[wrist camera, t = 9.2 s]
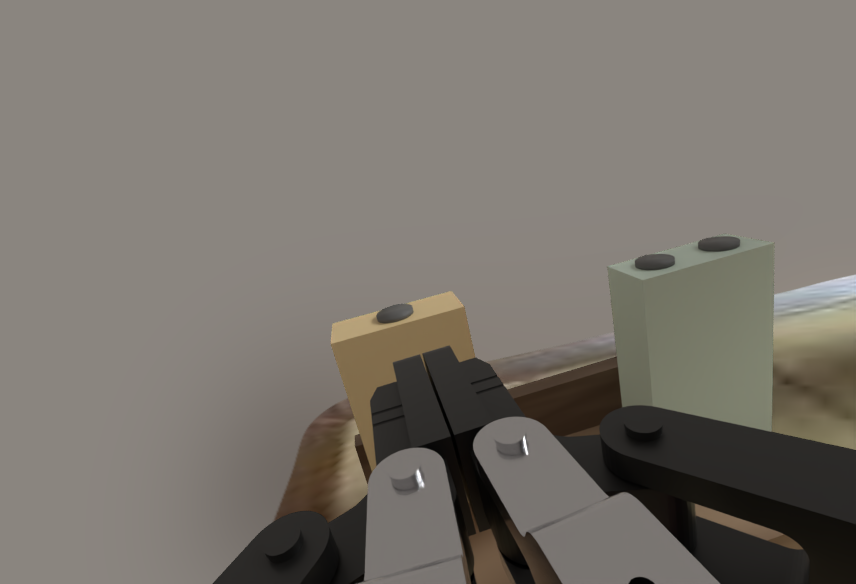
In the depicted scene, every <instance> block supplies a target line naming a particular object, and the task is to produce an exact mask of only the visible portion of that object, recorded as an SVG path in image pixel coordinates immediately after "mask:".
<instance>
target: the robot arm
mask: <svg viewBox="0 0 856 584" xmlns="http://www.w3.org/2000/svg"><path fill="white" fill-rule="evenodd" d="M422 355H423V360H424V363H425V366H424V363H423V361H422V358H421V355H420V354H419V355H415V356H412V357H409V358H405V359H402V360H399V361H395V362H393V367H394V371H395V376H396V380H397V381H396V382H393V383H390V384H386V385H383V386H380V387H377V388H376V390H375V392H374V394H373V396H372V398H371V400H370V407H371V415H372V416H371V417H372V426H373V438H374V448H375V458H376V468H375V469H374V470H373V472H372V474H371V475H370V478H369V482H368V494H367V495H366V496H365V497H364V498H363V499H362V500H361V501H360V502H359V503H358V504H357V505H356V506H355V507H353V508H352V509H350V510H349V511H347V512H346V513H344V514H342V515H341V516H339V517H337V518H336V519H334V520H332V521H331V522H329V523H327V520H326V519H325V518H324V517H323V516H322V515H321V514H319V513H316V512H312V511H300V512H295V513H291V514H288V515H286V516H283V517H281V518H279V519H277V520H276V521H274V522H273V523H271V524H270V525H268V526H267V527H266V528H264V530H262V531H261V532H260V533H259V534H258V535H257V536H256V537H255V538H254V539H253V540H252V541H251V542H250V544H249V545H248V546H247V547H246V548H245V549H244V550H243V551H242V552H241V553H240V554H239V556H238V557H237V558H236V559H235V560H234V561H233V562H232V563H231V564H230V565H229V566H228V567H227V569H226V570H225V571H224V572H223V573H222V574H221V575H220V576H219V577H218V578H217V580H216V581H215V582H214V583H213V584H477V579H476V575H475V572H474V555H473V551H472V547H471V543H470V540H469V536H471V535H474V534H476V530H475V526H474V522H473V519H472V515H471V511H470V507H471V509H472V512H473V515H474V518H475V521H476V523H477V526H478V529H479V532H482V531H485V530H488V529H491V530H492V533H493V535H494V538H495V540H496V543H497V547H498V551H499V555H500V559H501V563H502V566H503V568H504V571H505V573H506V575H507V577H508V579H509V581H510V583H511V584H856V450H853V449H849V448H844V447H839V446H835V445H830V444H825V443H821V442H816V441H812V440H807V439H802V438H798V437H793V436H788V435H784V434H779V433H775V432H770V431H765V430H761V429H756V428H751V427H747V426H742V425H738V424H733V423H728V422H724V421H719V420H714V419H710V418H705V417H701V416H696V415H691V414H687V413H682V412H677V411H673V410H668V409H663V408H659V407H654V406H646V405H633V406H626V407H622V408H619V409H616V410H614V411H612V412H610V413H609V414H607V415H606V416H605V417H604V418H603V419H602V421H601V423H600V427H599V431H600V435H587V436H573V437H566V436H557V435H552V434H551V432H550V431H549V430H548V429H547V428H546V427H545V426H544V425H543V424H541V423H540V422H538V421H536V420H533V419H530V418H526V416H525V415H524V414H523V412H522V411H521V409H520V408H519V406H518V405H517V403H516V402H515V400H514V399H513V398H512V396H511V395H510V393H509V392H508V390H507V389H506V387H505V386H504V385H503V383H502V382H501V380H500V379H499V377H497V374H496V373H495V372H494V370H493V369H492V367H491V366H490V364H488V363H486V362H484V361H482V360H479V359H477V358H472V359H469V360H465V361H462V362H459V361H458V359H457V357H456V356H455V354H454V352H453V350H452V348H451V347H450V345H449V346H445V347H442V348H439V349H435V350H432V351H429V352H425V353H422ZM425 367H426V369H425ZM466 495H467V496H466ZM467 498H468V500H467ZM468 501H469V503H468ZM469 504H470V507H469ZM695 504H698V505H701V506H704V507H707V508H710V509H712V510H715V511H718V512H721V513H724V514H727V515H730V516H733V517H736V518H739V519H742V520H745V521H748V522H751V523H754V524H757V525H760V526H763V527H766V528H769V529H772V530H775V531H778V532H780V533H782V534H784V535H786V536H788V537H790V538H791V539H793V540H794V541H796V542H797V543H798V544H799V545H800V546H801V547H802V548H803V549H791V548H787V547H784V546H781V545H779V544H776V543H773V542H770V541H767V540H764V539H761V538H759V537H756V536H753V535H750V534H747V533H744V532H741V531H739V530H736V529H733V528H730V527H727V526H724V525H722V524H719V523H716V522H713V521H710V520H707V519H704V518H702V517H699V516H696V511H695Z"/></svg>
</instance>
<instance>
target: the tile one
mask: <svg viewBox="0 0 856 584" xmlns="http://www.w3.org/2000/svg"><path fill="white" fill-rule="evenodd" d="M449 345H450V347H451V348H452V350H453V352H454V354H455V356H456V357H457V359H458V361H459V362H462V361H465V360H469V359H472V358H475V354H474V349H473V344H472V340H471V335H470V331H469V326H468V322H467V317H466V312H465V308H464V306H463V304H462V303H461V302H460V301H459V299H458V298H457V297H456V296H455V295H454V293H453V292H452V291H450V292H446V293H443V294H439V295H435V296H432V297H428V298H424V299H420V300H417V301H413V302H409V303H406V304H398V305H393V306H390V307H387V308H385V309H383V310H381V311H377V312H373V313H369V314H366V315H362V316H358V317H355V318H351V319H348V320H344V321H340V322H337V323H333V324H332V336H331V346H332V349H333V352H334V356H335V359H336V362H337V365H338V368H339V371H340V374H341V377H342V380H343V384H344V387H345V390H346V393H347V396H348V399H349V402H350V405H351V408H352V411H353V415H354V418H355V421H356V424H357V427H358V430H359V433H360V436H361V439H362V442H363V445H364V449H365V452H366V455H367V458H368V461H369V464H370V467H371V470H372V472H373V470H374V469H375V468H376V458H375V448H374V438H373V426H372V417H371V416H372V415H371V407H370V400H371V398H372V396H373V394H374V392H375V390H376V388H377V387H380V386H383V385H386V384H390V383H393V382H396V381H397V380H396V376H395V371H394V367H393V362H395V361H399V360H402V359H405V358H409V357H412V356H415V355H419V354H420V355H421V358H422V361H423V363H424V360H423V355H422V353H425V352H429V351H432V350H435V349H439V348H442V347H445V346H449ZM424 366H425V363H424ZM425 369H426V367H425ZM466 496H467V495H466ZM467 500H468V498H467ZM468 503H469V501H468Z"/></svg>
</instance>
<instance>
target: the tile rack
mask: <svg viewBox="0 0 856 584" xmlns="http://www.w3.org/2000/svg"><path fill="white" fill-rule="evenodd" d="M508 392H509V393H510V395H511V396H512V398H513V399H514V400H515V402H516V403H517V405H518V406H519V408H520V409H521V411H522V412H523V414H524V415H525V416H526V418H530V419H533V420H536V421H538V422H540V423H541V424H543V425H544V426H545V427H546V428H547V429H548V430H549V431H550V432H551V434H552V435H557V436H566V437H573V436H587V435H600V431H599V427H600V423H601V421H602V419H603V418H604V417H605V416H606V415H607V414H609V413H610V412H612V411H614V410H616V409H619V408H622V400H621V391H620V381H619V372H618V362H617V357H614V358H611V359H607V360H604V361H601V362H597V363H594V364H591V365H587V366H584V367H581V368H577V369H574V370H571V371H567V372H564V373H561V374H558V375H554V376H551V377H548V378H544V379H541V380H538V381H534V382H531V383H528V384H524V385H521V386H518V387H514V388H511V389H508ZM355 447H356V451H357V454H358V457H359V460H360V463H361V466H362V469H363V472H364V475H365V478H366V481H367V484H368V482H369V478H370V475H371V474H372V470H371V467H370V464H369V461H368V458H367V455H366V452H365V449H364V445H363V442H362V439H361V436H360V434H358V435H355ZM469 507H470V504H469ZM470 511H471V515H472V519H473V522H474V526H475V530H476V534H474V535H471V536H469V540H470V543H471V547H472V551H473V555H474V572H475V575H476V579H477V584H511V583H510V581H509V579H508V577H507V575H506V573H505V571H504V568H503V566H502V563H501V559H500V555H499V551H498V547H497V543H496V540H495V538H494V535H493V533H492V530H491V529H488V530H485V531H482V532H479V529H478V526H477V523H476V521H475V518H474V515H473V512H472V509H471V507H470ZM695 511H696V516H699V517H702V518H704V519H707V520H710V521H713V522H716V523H719V524H722V525H724V526H727V527H730V528H733V529H736V530H739V531H741V532H744V533H747V534H750V535H753V536H756V537H759V538H761V539H764V540H767V541H770V542H773V543H776V544H779V545H781V546H784V547H787V548H791V549H803V548H802V547H801V546H800V545H799V544H798V543H797V542H796V541H794V540H793V539H791V538H790V537H788V536H786V535H784V534H782V533H780V532H778V531H775V530H772V529H769V528H766V527H763V526H760V525H757V524H754V523H751V522H748V521H745V520H742V519H739V518H736V517H733V516H730V515H727V514H724V513H721V512H718V511H715V510H712V509H710V508H707V507H704V506H701V505H698V504H695Z"/></svg>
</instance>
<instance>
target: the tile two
mask: <svg viewBox="0 0 856 584" xmlns="http://www.w3.org/2000/svg"><path fill="white" fill-rule="evenodd" d="M607 268H608V277H609V287H610V295H611V305H612V315H613V324H614V334H615V343H616V353H617V362H618V372H619V381H620V391H621V400H622V407H626V406H633V405H646V406H654V407H659V408H663V409H668V410H673V411H677V412H682V413H687V414H691V415H696V416H701V417H705V418H710V419H714V420H719V421H724V422H728V423H733V424H738V425H742V426H747V427H751V428H756V429H761V430H765V431H770V432H772V386H773V314H774V243H773V242H768V241H762V240H757V239H752V238H745V237H741V236H735V235H729V234H722V235H719V236H715V237H711V238H706V239H703V240H700V241H697V242H693V243H690V244H686V245H683V246H679V247H675V248H672V249H668V250H664V251H661V252H657V253H654V254H650V255H645V256H642V257H639V258H636V259H632V260H629V261H625V262H622V263H618V264H614V265H611V266H608V267H607Z"/></svg>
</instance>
